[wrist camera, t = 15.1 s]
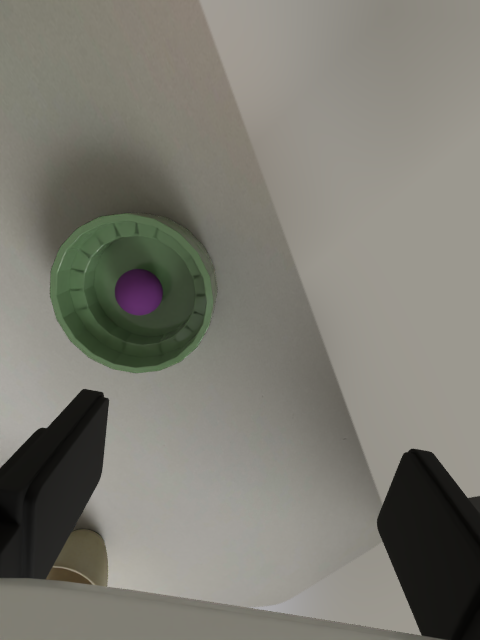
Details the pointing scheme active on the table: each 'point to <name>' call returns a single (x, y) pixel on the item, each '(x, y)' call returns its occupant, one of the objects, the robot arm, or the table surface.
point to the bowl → (100, 280)
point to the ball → (138, 292)
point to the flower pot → (82, 560)
